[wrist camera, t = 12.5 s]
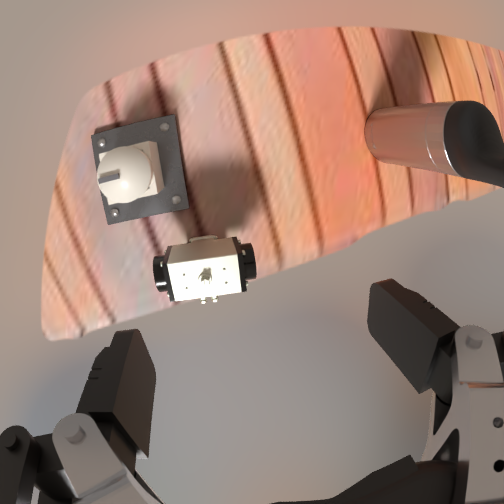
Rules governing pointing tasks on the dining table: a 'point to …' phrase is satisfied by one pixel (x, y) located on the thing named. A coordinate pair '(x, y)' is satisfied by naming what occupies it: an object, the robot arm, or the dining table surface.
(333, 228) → the dining table surface
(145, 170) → the knob
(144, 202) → the shaft mount
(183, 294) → the pneumatic valve
